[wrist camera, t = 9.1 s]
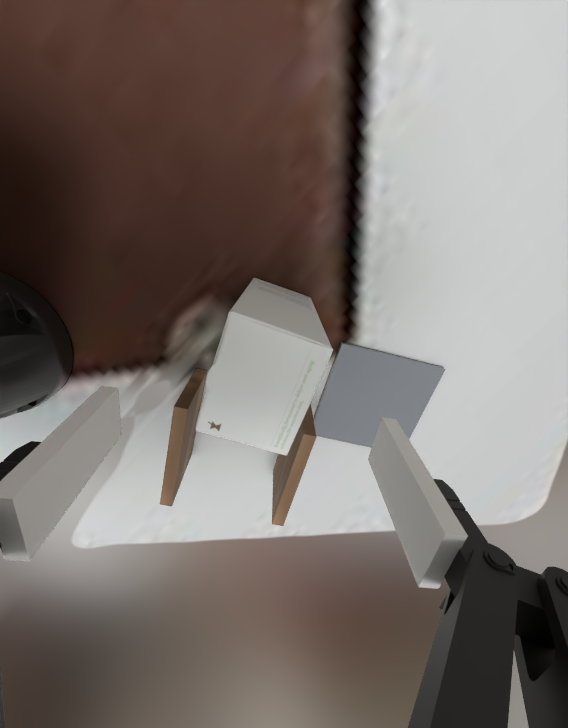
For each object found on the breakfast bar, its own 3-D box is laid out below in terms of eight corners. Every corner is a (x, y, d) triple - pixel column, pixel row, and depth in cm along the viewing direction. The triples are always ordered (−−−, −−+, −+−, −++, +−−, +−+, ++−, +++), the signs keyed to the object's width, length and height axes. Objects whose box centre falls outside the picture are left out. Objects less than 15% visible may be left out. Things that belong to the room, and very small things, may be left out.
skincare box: (284, 365, 35) (288, 463, 21) (226, 346, 34) (188, 436, 20) (313, 294, 32) (341, 351, 17) (250, 271, 31) (225, 311, 16)
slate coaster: (308, 431, 38) (309, 434, 38) (341, 341, 34) (342, 343, 33) (399, 450, 40) (401, 453, 39) (442, 367, 35) (445, 369, 34)
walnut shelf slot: (182, 452, 39) (159, 504, 32) (196, 368, 35) (174, 406, 27) (282, 472, 41) (282, 525, 34) (308, 393, 36) (316, 436, 29)
